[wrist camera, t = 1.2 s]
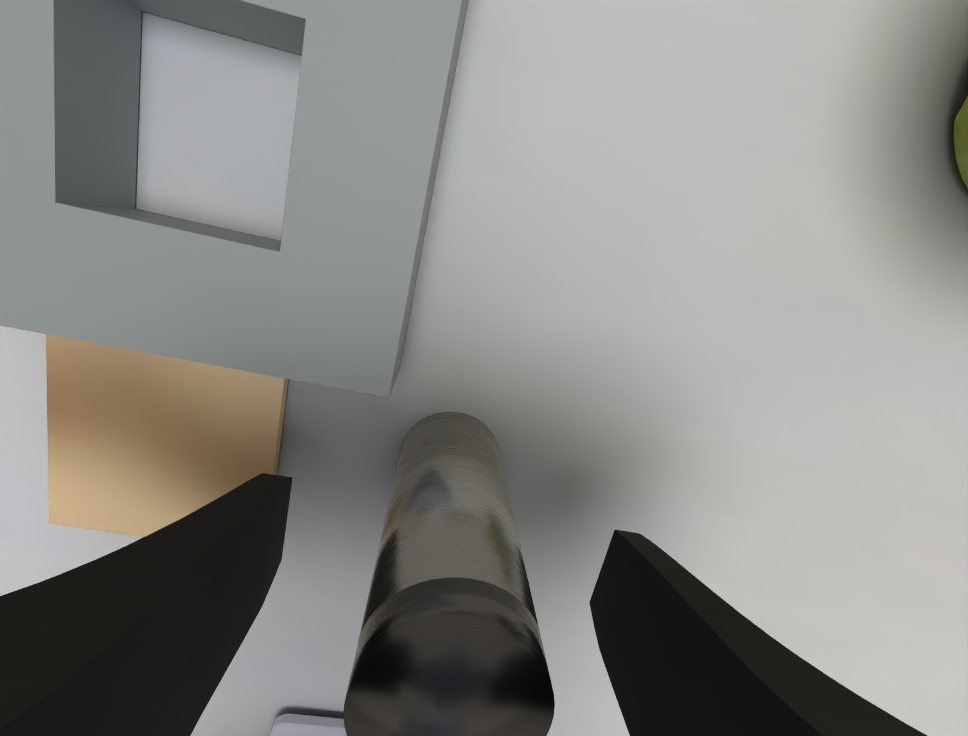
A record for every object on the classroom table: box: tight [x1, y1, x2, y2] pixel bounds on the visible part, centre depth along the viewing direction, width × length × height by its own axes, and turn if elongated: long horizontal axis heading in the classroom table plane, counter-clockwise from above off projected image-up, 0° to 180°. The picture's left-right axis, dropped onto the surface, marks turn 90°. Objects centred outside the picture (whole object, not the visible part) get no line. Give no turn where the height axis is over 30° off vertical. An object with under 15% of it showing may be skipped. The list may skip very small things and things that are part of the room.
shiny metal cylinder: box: [343, 412, 555, 736], centre depth 11 cm, size 3×3×8 cm
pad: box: [46, 334, 288, 537], centre depth 13 cm, size 6×6×1 cm
